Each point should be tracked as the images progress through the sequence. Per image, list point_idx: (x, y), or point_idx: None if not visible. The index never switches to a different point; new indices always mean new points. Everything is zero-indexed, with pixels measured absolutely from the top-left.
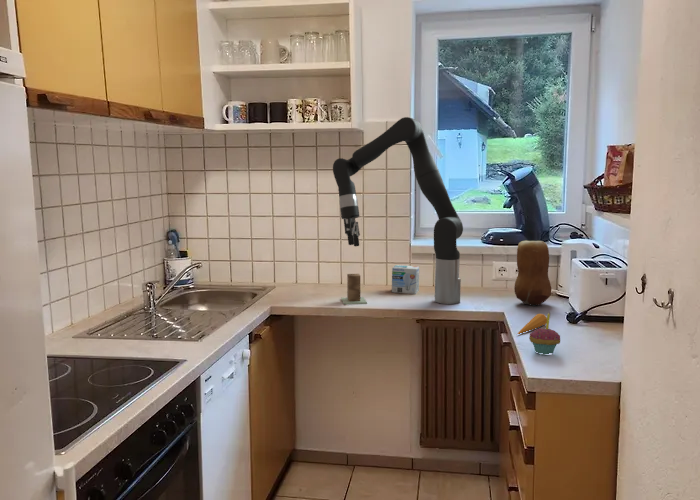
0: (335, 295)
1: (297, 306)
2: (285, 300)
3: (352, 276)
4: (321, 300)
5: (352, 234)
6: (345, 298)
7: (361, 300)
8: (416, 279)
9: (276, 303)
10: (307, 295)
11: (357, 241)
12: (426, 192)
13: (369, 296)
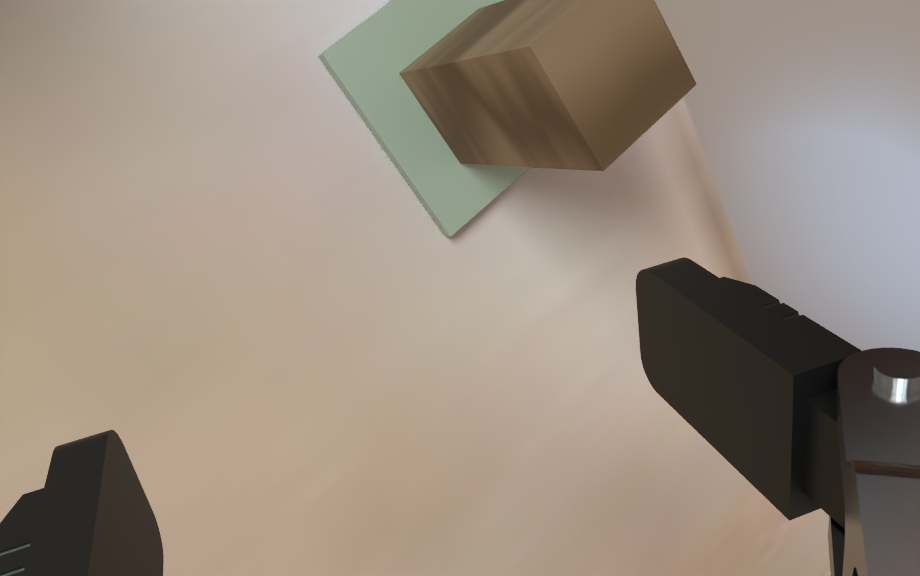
0: (342, 371)
1: None
2: (658, 557)
3: (673, 48)
4: (553, 349)
5: (899, 349)
6: (459, 184)
7: (459, 6)
8: None
9: (738, 535)
10: (463, 561)
11: (108, 533)
12: None
13: (194, 40)
